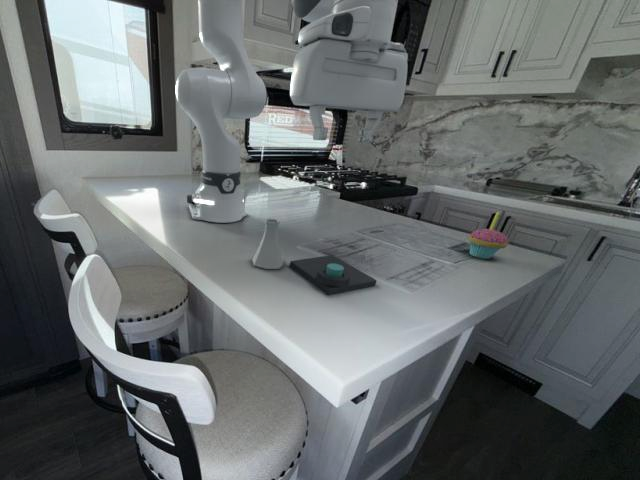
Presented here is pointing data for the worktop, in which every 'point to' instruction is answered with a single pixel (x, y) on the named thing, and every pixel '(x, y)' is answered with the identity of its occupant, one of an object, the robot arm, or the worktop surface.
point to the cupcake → (487, 241)
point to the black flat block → (330, 285)
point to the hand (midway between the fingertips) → (342, 141)
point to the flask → (269, 248)
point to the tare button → (334, 270)
